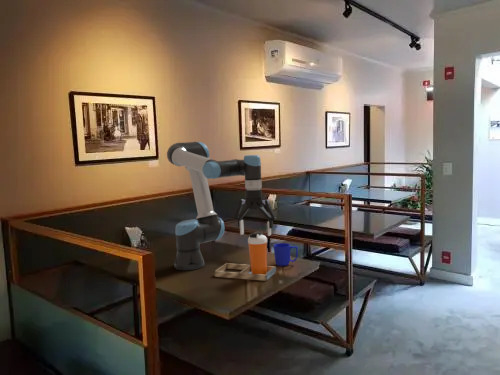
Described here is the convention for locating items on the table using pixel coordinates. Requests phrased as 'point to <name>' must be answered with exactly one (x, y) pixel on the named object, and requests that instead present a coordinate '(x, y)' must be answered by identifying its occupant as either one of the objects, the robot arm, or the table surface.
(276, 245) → the mug
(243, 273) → the caddy
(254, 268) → the shaker bottle
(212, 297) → the table surface
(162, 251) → the table surface
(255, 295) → the table surface
